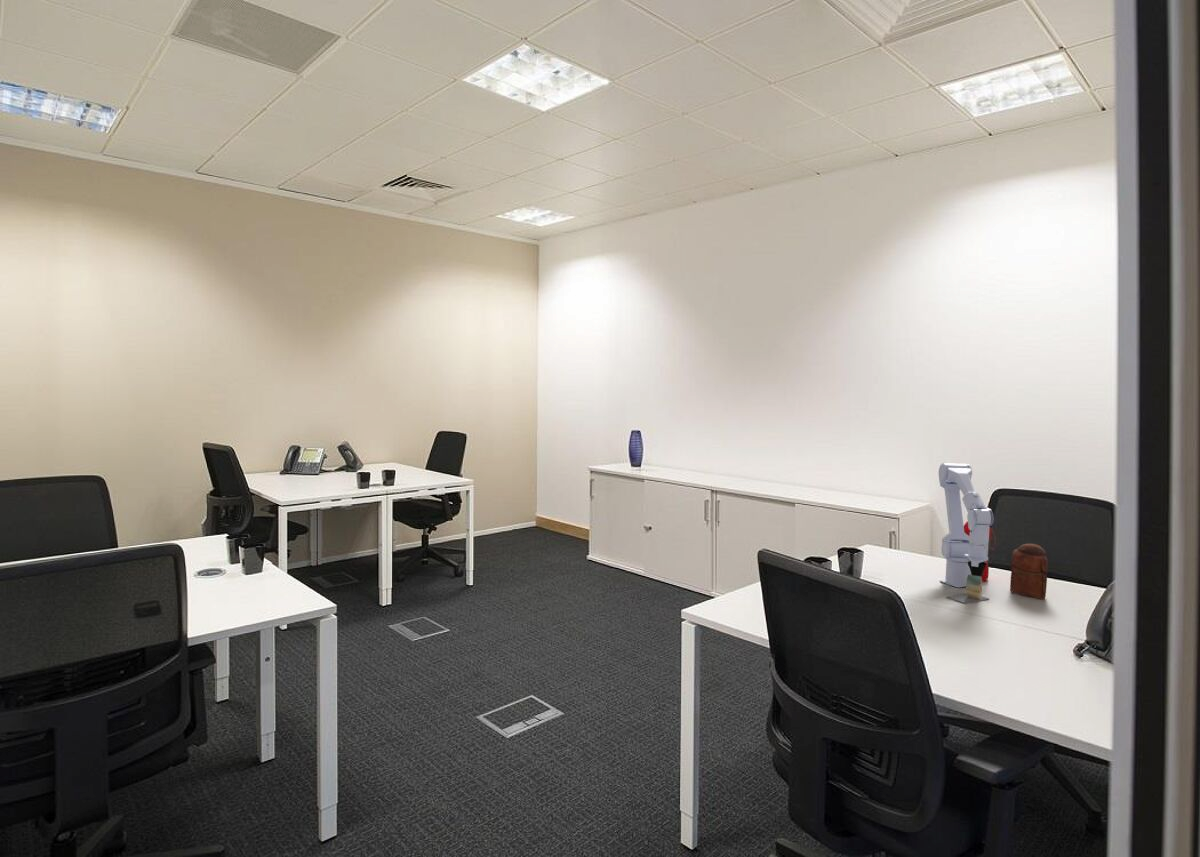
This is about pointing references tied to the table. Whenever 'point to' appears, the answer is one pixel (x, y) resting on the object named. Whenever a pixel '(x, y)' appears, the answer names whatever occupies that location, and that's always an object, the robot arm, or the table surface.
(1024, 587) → the brown upright rounded block
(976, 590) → the oak block
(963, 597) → the slate mat
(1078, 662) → the table surface
